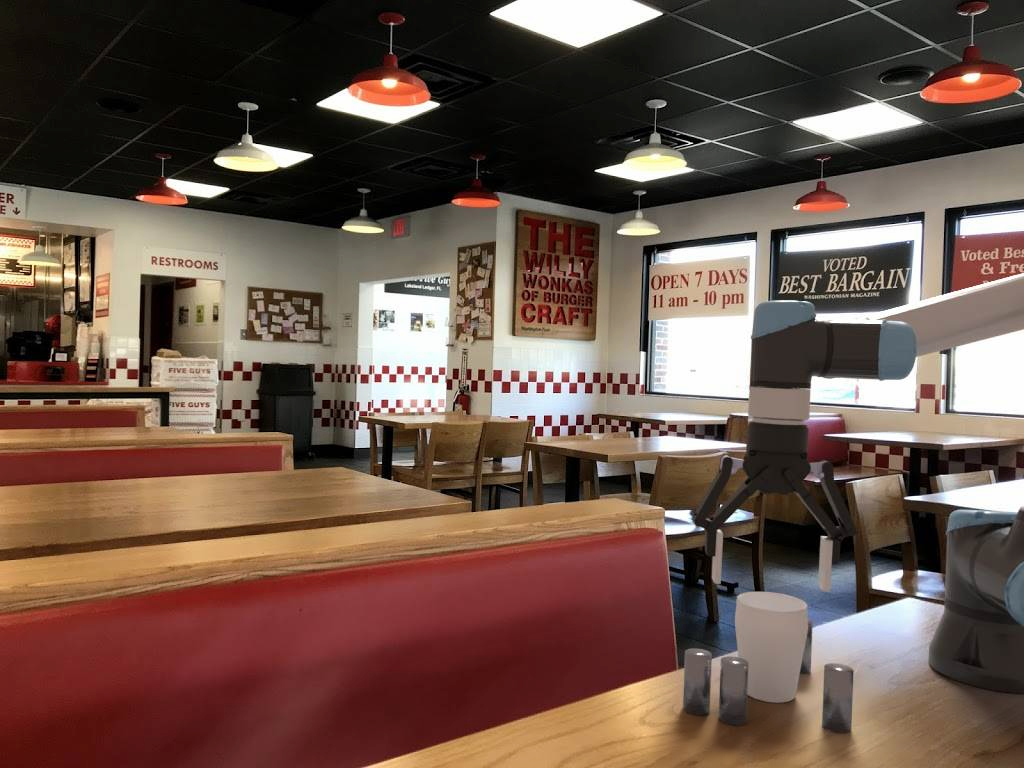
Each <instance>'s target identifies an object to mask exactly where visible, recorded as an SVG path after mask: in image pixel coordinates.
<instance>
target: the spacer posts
mask: <svg viewBox="0 0 1024 768" xmlns="http://www.w3.org/2000/svg"><path fill="white" fill-rule="evenodd" d="M807 621H808V632H807V637H806V642H805V648H804V653H803V658H802V663H801V669H800V674H799V675H808V674H811V672H812V649H813V647H812V646H813V644H812V643H813V624H814V623H813V620H812V619H809V618H807ZM712 658H713V655H712V653H711V651H708V650H706V649H703V648H688V649H685V651H684V669H683V670H684V671H683V673H684V674H683V693H682V694H683V699H682V709H683V711H684V712H685V713H687V714H689V715H692V716H693V715H694V716H708V715H709V714H710V711H711V689H712V687H711V686H712V684H711V683H712V682H711V681H712V663H713V662H712V660H713V659H712ZM719 669H720V670H719V695H718V696H719V697H718V720H719V721H721V723H723V724H727V725H729V726H730V725H731V726H744V725H745V724H746V723H747V712H748V695H747V690H748V661H746V660H745V659H742V658H739V657H738V656H724V657H721V658H720V668H719ZM823 669H824V670H823V687H822V688H823V690H822V691H823V692H822V693H823V694H822V695H823V696H822V714H821V715H822V716H821V717H822V719H821V727H822V728H824V729H825V730H827V731H829V732H832V733H835V734H848V733H851V732H852V723H853V722H852V719H853V698H854V697H853V695H854V669H853V668H852V667H850V666H848V665H845V664H841V663H835V662H833V663H826V664H824V667H823Z"/></svg>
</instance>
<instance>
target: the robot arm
mask: <svg viewBox="0 0 1024 768" xmlns="http://www.w3.org/2000/svg"><path fill="white" fill-rule="evenodd" d="M752 323H753V324H752V330H751V331H752V332H751V335H750V339H751V343H750V344H751V347H750V348H751V349H750V374H749V375H750V376H749V392H748V408H747V409H748V410H747V415H748V417H749V418H751V419H752V420H751V421H749V422H748V424H747V427H746V428H747V429H746V449H745V450H746V451H745V455H744V457H743V458H742V459H741V458H738V457H737V458H736V457H731V456H729V455H728V454H723V455H722V456H720V461H719V467H718V471H717V474H716V475H715V477H714V479H713V480H712V482H711V483H710V485H709V487H708V489H707V491H706V493H705V494H704V496H703V497H702V499H701V501H700V502H699V505H698V506H697V508H696V510H695V512H694V513H693V514H692V517H691V520H692V522H693V524H694V525H695V526H697V527H700V528H702V529H704V530H705V541H704V551H705V554H706V556H708V557H712V562H711V563H712V564H711V580H712V581H713V583H714V585H721V582H722V563H723V561H722V560H723V544H724V539H723V538H724V533H723V531H722V530H721V529H720V528H721V527H722V526H723V525H724V524H725V522H727V521H728V519H730V518H731V517H732V515H733V514H735V513H736V512H737V511H738V510H739V508H741V506H742V505H743V504H744V503H746V501H747V500H748V499H749V498H750V497H752V496H753V495H754V494H755V493H757V491H758V492H760V493H762V494H764V495H765V494H766V495H771V494H780V495H782V496H783V495H784V496H789V495H791V494H792V493H794V494H795V495H796V496H797V497H798V498H799V501H801V503H802V504H803V505H804V506H805V507H806V509H807V510H808V511H809V512H810V514H811V516H813V517H814V519H815V520H816V521H817V522H818V524H819V525H820V526H821V528H822V529H823V531H825V533H826V534H827V536H825V535H820V543H819V544H820V545H819V562H818V581H817V582H818V583H817V585H818V587H819V589H821V590H822V591H823V592H829V593H831V580H832V565H839V563H840V559H841V557H840V556H841V542H842V541H844V538H846V537H854V536H856V535H857V533H858V529H857V527H856V525H855V522H854V520H853V518H852V517H851V514H850V511H849V509H848V507H847V505H846V503H845V500H844V499H843V497H842V495H841V492H840V490H839V487H838V485H837V483H836V480H835V474H834V473H835V472H834V465H833V463H832V462H830V461H827V460H824V459H821V460H819V462H818V461H816V462H809V458H808V454H809V453H808V452H809V451H808V449H809V432H810V431H809V429H810V428H809V427H808V425H807V424H805V421H806V422H807V421H808V420H809V419H810V415H811V414H810V409H811V389H812V378H813V377H817V378H823V379H827V380H829V379H830V380H832V379H855V380H857V379H858V380H859V379H860V380H878V381H881V382H884V381H885V380H886V381H898V380H905V379H906V378H908V376H909V375H911V372H912V371H913V369H914V366H915V363H916V359H917V358H918V357H922V356H926V355H930V354H933V353H938V352H941V351H945V350H946V351H947V350H949V349H953V348H958V347H962V346H964V345H969V344H972V343H977V342H979V341H981V342H982V341H984V340H988V339H991V338H997V337H1000V336H1003V335H1008V334H1012V333H1015V332H1019V331H1023V330H1024V272H1023V273H1020V274H1016V275H1012V276H1009V277H1003V278H1002V279H997V280H994V281H990V282H985V283H983V284H979V285H975V286H972V287H968V288H964V289H961V290H957V291H953V292H949V293H946V294H942V295H938V296H935V297H931V298H928V299H924V300H923V299H922V300H920V301H916V302H911V303H908V304H905V305H902V306H897V307H894V308H893V307H892V308H891V309H887V310H883V311H879V312H875V313H872V314H868V315H864V316H862V317H858V318H853V319H834V318H833V319H829V318H822V317H817V313H816V307H815V305H814V304H813V303H812V302H809V301H805V300H804V301H799V300H783V299H782V300H767V301H762V302H761V303H759V304H757V306H756V307H755V309H754V314H753V322H752ZM739 469H742V470H743V472H744V473H745V475H746V477H747V478H746V479H745V480H744V481H743V482H741V484H740V486H739V487H738V488H737V490H735V492H734V493H733V494H731V495H730V497H728V499H727V500H726V501H725V502H723V504H722V505H721V506H720V507H718V509H717V510H716V511H715V512H714V513H713V514H712V515H711V516H710V517H709V515H710V513H711V511H712V510H713V508H714V506H715V505H716V503H717V501H718V499H719V498H720V496H721V494H722V493H723V491H724V489H725V488H726V485H727V483H728V482H729V481H730V477H731V475H735V474H736V473H737V472H738V470H739ZM811 472H812V473H813V474H814V477H815V478H817V479H818V480H819V482H820V484H821V486H822V489H823V491H824V493H825V495H826V498H827V500H828V502H829V504H830V506H831V509H832V511H833V514H834V515H835V517H836V520H837V522H838V524H839V525H838V526H837V525H835V523H834V522H833V521H832V520H831V518H830V517H829V515H828V514H827V513H826V511H825V510H824V509H823V508H822V506H820V504H819V503H818V501H817V500H816V499H815V498H814V496H813V495H812V494H811V492H810V490H809V489H808V488H807V487H806V485H805V484H804V483H803V481H805V479H806V478H807V476H809V475H810V473H811ZM708 517H709V518H708ZM945 536H946V549H945V550H946V553H945V554H946V555H945V558H946V559H945V579H944V580H945V581H944V582H945V584H944V585H945V586H944V607H943V613H942V615H941V617H940V620H939V622H938V625H937V627H936V629H935V632H934V634H933V636H932V638H931V641H930V643H929V647H928V664H929V665H930V667H932V668H933V669H934V670H935V671H937V672H938V673H940V674H942V675H943V676H946V677H947V678H950V679H953V680H954V681H958V682H961V683H963V684H968V685H969V686H974V687H978V688H982V689H987V690H992V691H996V692H997V691H999V692H1002V693H1003V692H1005V693H1015V694H1024V505H1022V506H1020V507H1019V509H1018V511H1017V512H1015V511H1003V510H983V509H982V510H981V509H980V510H979V509H957V510H954V511H952V512H951V513H950V514H949V517H948V523H947V529H946V532H945Z"/></svg>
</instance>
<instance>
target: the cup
mask: <svg viewBox="0 0 1024 768" xmlns="http://www.w3.org/2000/svg"><path fill="white" fill-rule="evenodd" d="M735 604H736V605H735V606H736V607H735V613H734V628H735V637H736V646H737V647H736V648H737V655H738V656H737V657H739V658H742V659H745V660H746V661H748V690H747V697H750V698H752V699H755V700H756V701H761V702H766V703H772V704H779V703H780V704H782V703H787V702H791V701H792V700H794V699H795V698H796V694H797V688H798V684H799V678H800V675H801V674H800V669H801V663H802V658H803V653H804V648H805V642H806V637H807V632H808V621H807V619H808V604H807V602H806V601H804V600H802V599H801V598H798V597H796V596H793V595H788V594H784V593H780V592H779V593H778V592H769V591H746V592H743V593H740V594H738V595H737V596H736V603H735Z"/></svg>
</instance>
